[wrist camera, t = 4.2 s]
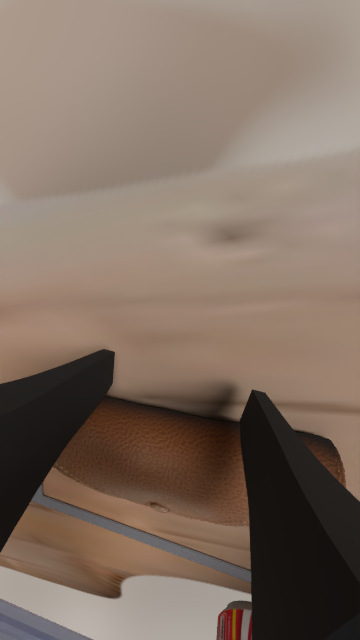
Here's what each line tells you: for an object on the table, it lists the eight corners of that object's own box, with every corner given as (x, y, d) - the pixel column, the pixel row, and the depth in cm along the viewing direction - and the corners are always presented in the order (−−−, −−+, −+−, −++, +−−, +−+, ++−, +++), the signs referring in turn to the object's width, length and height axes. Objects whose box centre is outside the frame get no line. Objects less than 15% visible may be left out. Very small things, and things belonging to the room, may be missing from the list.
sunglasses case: (65, 462, 17) (-22, 526, 11) (84, 377, 18) (16, 386, 12) (292, 519, 14) (364, 651, 8) (297, 414, 16) (363, 454, 9)
